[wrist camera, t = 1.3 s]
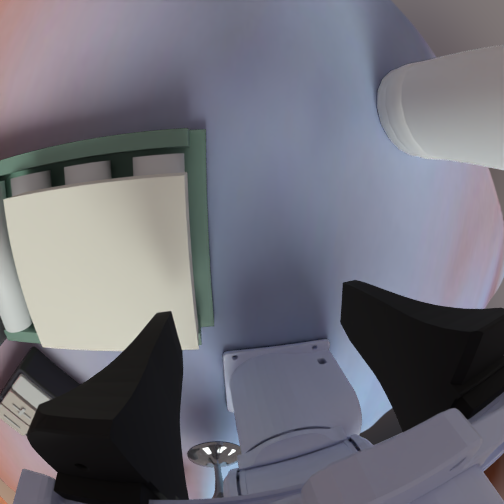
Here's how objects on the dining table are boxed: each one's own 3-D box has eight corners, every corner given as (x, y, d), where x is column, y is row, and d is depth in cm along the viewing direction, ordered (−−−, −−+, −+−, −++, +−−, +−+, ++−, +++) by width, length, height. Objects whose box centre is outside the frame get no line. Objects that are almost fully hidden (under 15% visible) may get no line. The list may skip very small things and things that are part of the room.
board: (187, 172, 14) (184, 175, 12) (198, 325, 17) (198, 349, 15) (25, 192, 12) (3, 199, 10) (56, 326, 15) (42, 347, 13)
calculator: (-10, 412, 18) (15, 372, 16) (2, 390, 22) (34, 343, 20) (58, 462, 22) (110, 441, 20) (65, 438, 26) (118, 409, 24)
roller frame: (205, 130, 17) (207, 115, 10) (213, 320, 22) (221, 388, 15) (-23, 170, 14) (-81, 185, 7) (9, 320, 19) (-28, 367, 12)
